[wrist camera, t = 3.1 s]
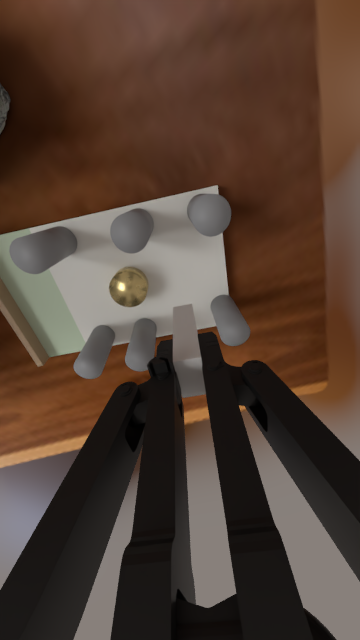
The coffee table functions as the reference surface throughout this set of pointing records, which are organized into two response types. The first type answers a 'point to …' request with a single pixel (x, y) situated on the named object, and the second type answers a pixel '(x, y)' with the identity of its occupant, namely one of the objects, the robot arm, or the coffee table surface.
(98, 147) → the coffee table surface
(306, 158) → the coffee table surface
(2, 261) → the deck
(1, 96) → the stone
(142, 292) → the brass dome
